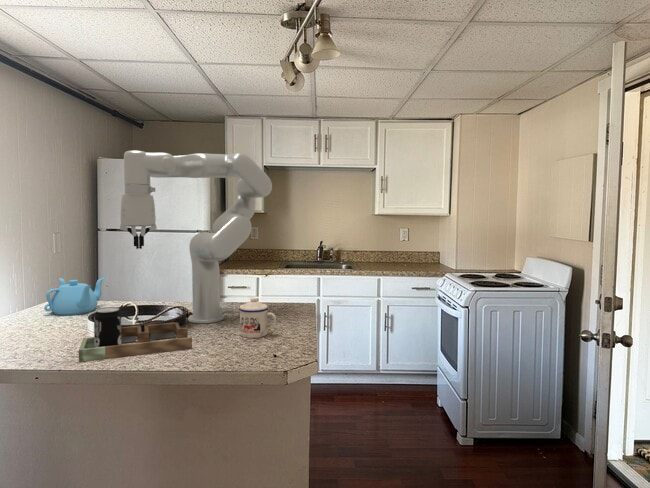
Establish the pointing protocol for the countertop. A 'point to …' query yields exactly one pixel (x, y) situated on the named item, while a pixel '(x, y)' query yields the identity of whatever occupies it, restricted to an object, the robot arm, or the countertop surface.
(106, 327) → the beverage can
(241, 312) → the teacup with lid
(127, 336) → the wooden tray
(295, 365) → the countertop surface
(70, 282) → the teapot
